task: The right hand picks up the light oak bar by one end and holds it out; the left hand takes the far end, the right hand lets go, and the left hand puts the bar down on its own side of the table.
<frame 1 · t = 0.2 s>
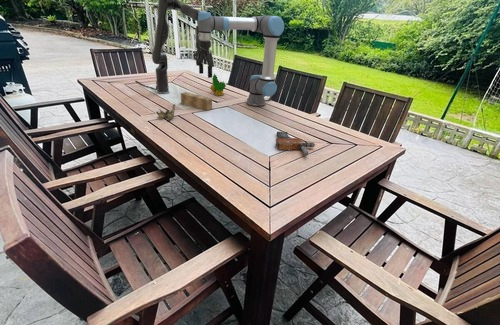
left hand: (201, 64, 198), 29 cm above the table, tool pointing down, fingers open, 8 cm apart
right hand: (205, 75, 173), 27 cm above the table, tool pointing down, fingers open, 13 cm apart
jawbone: (168, 118, 176), on the table
bar: (196, 106, 202), on the table
ornament: (219, 94, 236), on the table
tool: (298, 146, 150), on the table
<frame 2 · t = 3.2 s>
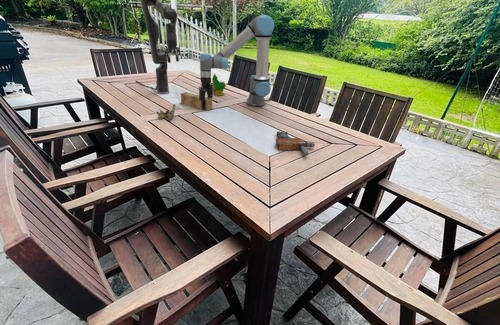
left hand: (173, 62, 203), 29 cm above the table, tool pointing down, fingers open, 8 cm apart
right hand: (206, 108, 198), 1 cm above the table, tool pointing down, fingers closed on bar, 6 cm apart
bar: (196, 106, 202), on the table, touching right hand
everything else where it was.
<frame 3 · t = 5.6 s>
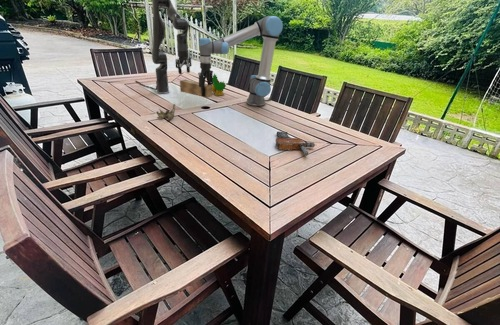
left hand: (184, 73, 196), 23 cm above the table, tool pointing down, fingers open, 8 cm apart
right hand: (206, 95, 193), 10 cm above the table, tool pointing down, fingers closed on bar, 6 cm apart
bar: (196, 93, 198), point 10 cm above the table, touching right hand
everything else where it was.
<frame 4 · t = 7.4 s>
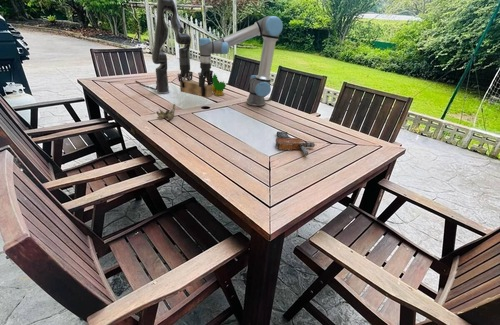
left hand: (186, 86, 200), 13 cm above the table, tool pointing down, fingers closed on bar, 5 cm apart
right hand: (206, 95, 193), 10 cm above the table, tool pointing down, fingers closed on bar, 6 cm apart
bar: (196, 93, 198), point 10 cm above the table, touching left hand, right hand
everything else where it was.
when the right hand's fingers open (10 cm above the table, at t = 8.4 s): bar stays where it is, held by the left hand.
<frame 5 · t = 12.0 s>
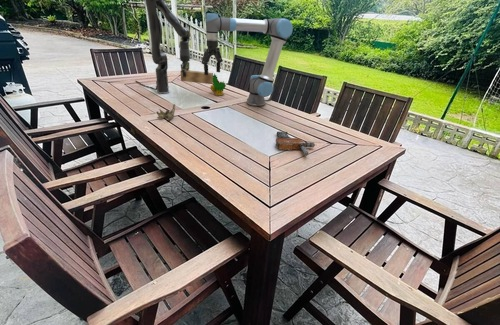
left hand: (185, 76, 220), 16 cm above the table, tool pointing down, fingers closed on bar, 5 cm apart
right hand: (212, 73, 183), 27 cm above the table, tool pointing down, fingers open, 13 cm apart
bar: (197, 81, 221), point 12 cm above the table, touching left hand
everything else where it was.
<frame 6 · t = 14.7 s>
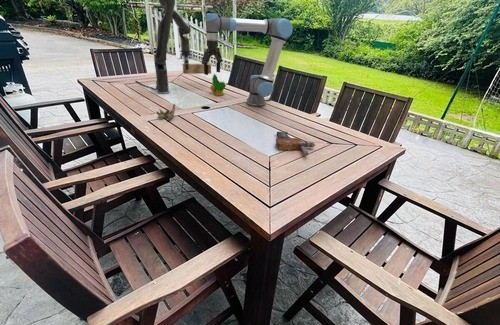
left hand: (186, 69, 246), 16 cm above the table, tool pointing down, fingers closed on bar, 5 cm apart
right hand: (212, 73, 183), 27 cm above the table, tool pointing down, fingers open, 13 cm apart
bar: (197, 73, 251), point 13 cm above the table, touching left hand
everything else where it was.
when the left hand's fingers open (5 cm above the table, at t = 16.8 s): bar drops 1 cm, on the table.
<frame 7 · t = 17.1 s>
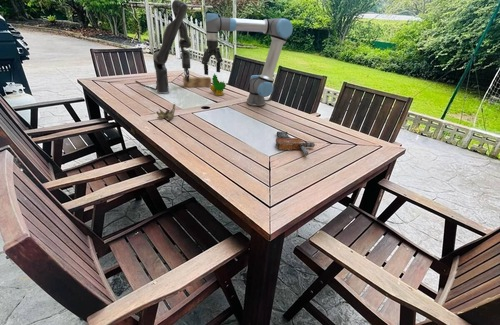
left hand: (187, 80, 252), 6 cm above the table, tool pointing down, fingers open, 8 cm apart
right hand: (212, 73, 183), 27 cm above the table, tool pointing down, fingers open, 13 cm apart
bar: (197, 86, 258), on the table
everything else where it was.
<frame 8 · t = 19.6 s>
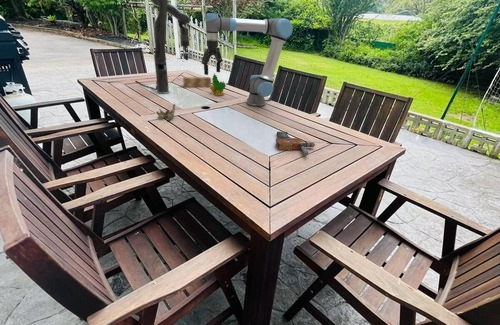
left hand: (185, 59, 242), 25 cm above the table, tool pointing down, fingers open, 8 cm apart
right hand: (212, 73, 183), 27 cm above the table, tool pointing down, fingers open, 13 cm apart
nothing on the table moved.
at the end: bar inside the target area (9.6 cm from its centre), on the table; the left hand is holding nothing; the right hand is holding nothing; bar at rest at the end (0.0 cm/s) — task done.
